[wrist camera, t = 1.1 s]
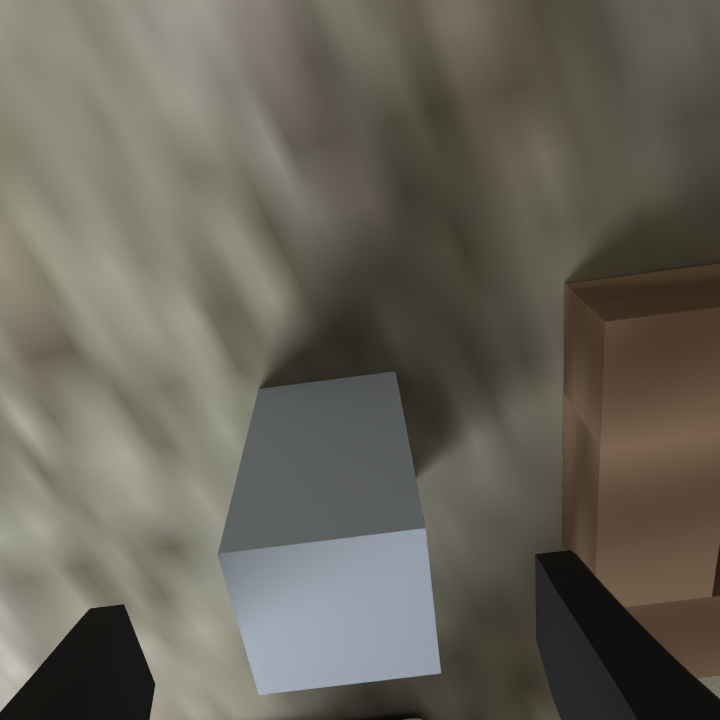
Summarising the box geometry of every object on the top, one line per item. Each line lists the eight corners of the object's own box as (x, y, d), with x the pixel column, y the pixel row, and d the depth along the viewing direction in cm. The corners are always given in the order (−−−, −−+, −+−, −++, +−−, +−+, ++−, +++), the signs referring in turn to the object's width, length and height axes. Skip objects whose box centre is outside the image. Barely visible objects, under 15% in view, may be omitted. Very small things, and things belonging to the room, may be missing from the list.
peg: (408, 484, 17) (440, 673, 12) (283, 499, 17) (258, 695, 12) (395, 371, 16) (425, 527, 10) (258, 389, 16) (218, 553, 11)
